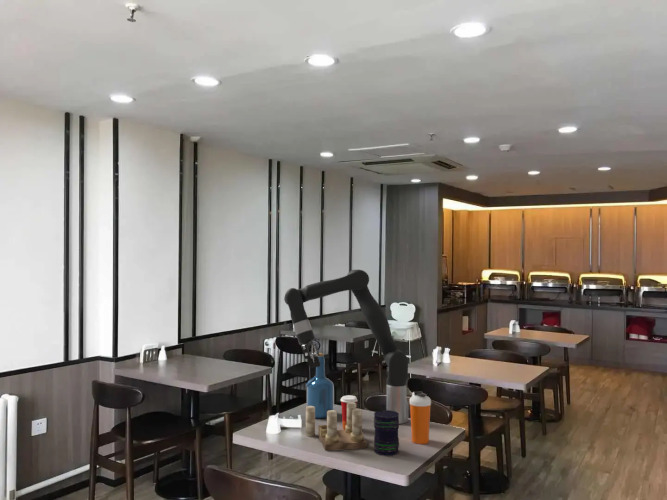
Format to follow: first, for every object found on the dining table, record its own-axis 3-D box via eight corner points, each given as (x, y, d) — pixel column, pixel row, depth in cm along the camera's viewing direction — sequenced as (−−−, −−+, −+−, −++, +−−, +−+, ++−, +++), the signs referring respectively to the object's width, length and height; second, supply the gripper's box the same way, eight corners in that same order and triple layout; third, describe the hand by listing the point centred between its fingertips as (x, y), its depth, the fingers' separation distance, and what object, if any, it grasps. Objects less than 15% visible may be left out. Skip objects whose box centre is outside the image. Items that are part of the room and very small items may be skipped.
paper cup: (358, 426, 250) (358, 395, 250) (357, 431, 242) (357, 399, 242) (341, 425, 251) (341, 394, 251) (339, 431, 243) (339, 399, 243)
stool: (357, 434, 238) (357, 401, 238) (366, 447, 221) (366, 411, 222) (318, 436, 235) (318, 403, 235) (325, 450, 218) (325, 414, 218)
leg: (312, 433, 240) (312, 405, 240) (316, 435, 236) (316, 407, 237) (304, 434, 238) (304, 406, 238) (307, 437, 235) (307, 408, 235)
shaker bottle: (417, 446, 223) (417, 396, 224) (405, 439, 231) (405, 392, 232) (435, 442, 227) (435, 394, 228) (422, 436, 235) (422, 389, 236)
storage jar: (404, 453, 216) (404, 406, 216) (384, 457, 210) (384, 410, 211) (388, 445, 224) (388, 401, 224) (368, 450, 219) (368, 404, 219)
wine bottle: (333, 411, 275) (333, 350, 275) (334, 418, 261) (334, 355, 262) (305, 411, 274) (305, 351, 274) (305, 419, 261) (305, 355, 261)
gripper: (306, 329, 236) (318, 365, 233) (316, 329, 250) (328, 363, 246) (291, 335, 238) (302, 371, 234) (301, 334, 251) (313, 368, 248)
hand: (315, 367), depth 240 cm, fingers open, 8 cm apart
